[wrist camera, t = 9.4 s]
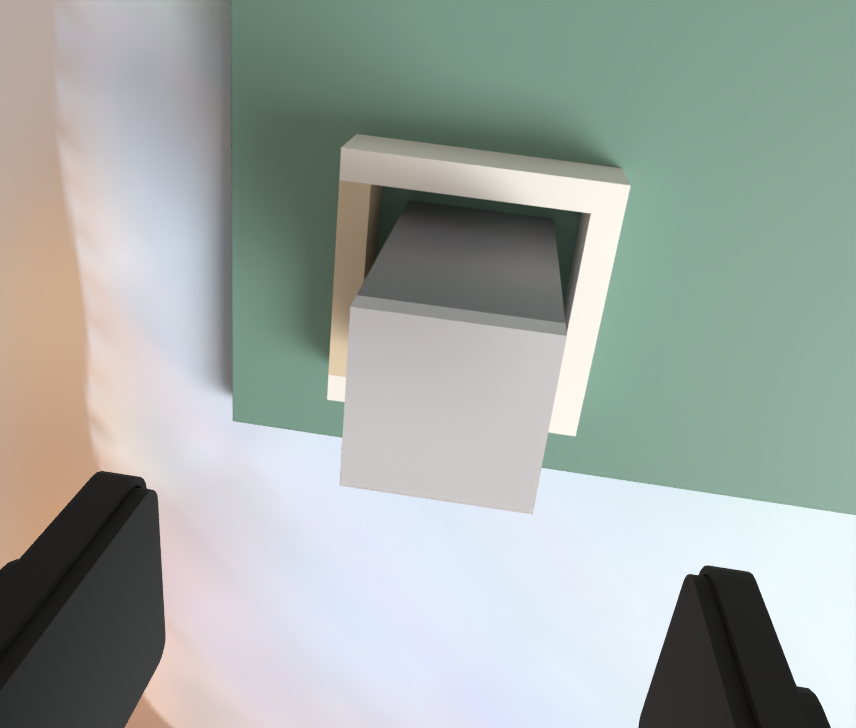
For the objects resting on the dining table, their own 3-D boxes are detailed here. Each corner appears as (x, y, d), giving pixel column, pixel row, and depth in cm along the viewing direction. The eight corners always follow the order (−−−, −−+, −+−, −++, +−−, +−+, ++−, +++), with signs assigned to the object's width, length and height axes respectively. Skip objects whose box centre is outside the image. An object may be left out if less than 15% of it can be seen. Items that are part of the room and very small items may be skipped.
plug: (408, 200, 22) (350, 306, 15) (553, 218, 22) (567, 335, 14) (396, 332, 24) (339, 485, 16) (530, 351, 23) (532, 514, 16)
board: (246, -157, 20) (198, -181, 17) (1077, -65, 19) (1177, -75, 16) (244, 403, 27) (210, 453, 24) (847, 493, 26) (887, 557, 23)
